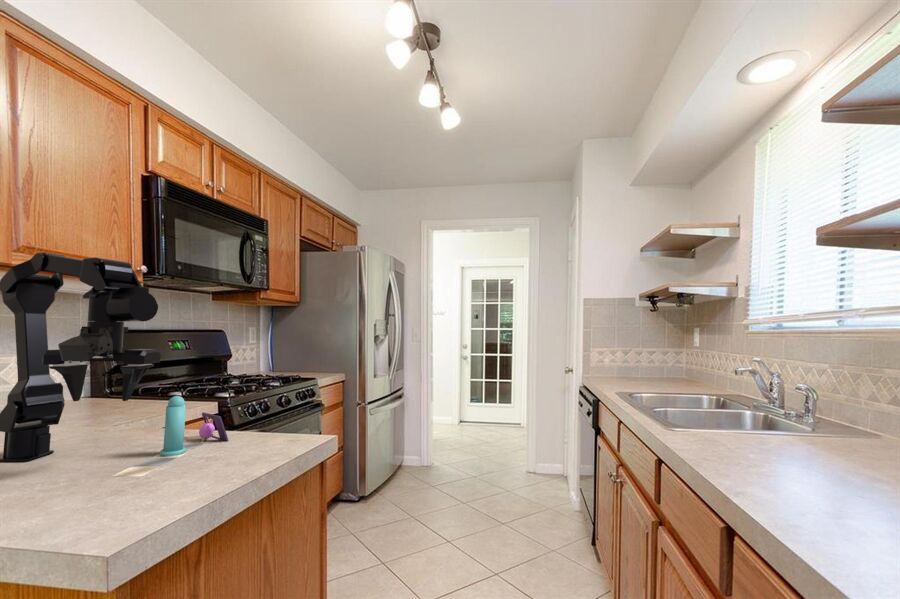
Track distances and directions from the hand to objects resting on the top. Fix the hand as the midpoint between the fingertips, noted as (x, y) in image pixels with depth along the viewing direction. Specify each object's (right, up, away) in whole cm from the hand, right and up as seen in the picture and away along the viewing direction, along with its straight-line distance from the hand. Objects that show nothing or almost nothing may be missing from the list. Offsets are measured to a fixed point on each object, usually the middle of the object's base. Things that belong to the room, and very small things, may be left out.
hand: (100, 401), depth 84 cm
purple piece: (+9, -15, +22) cm, 28 cm away
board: (+9, -14, +4) cm, 17 cm away
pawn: (+9, -13, +8) cm, 18 cm away
